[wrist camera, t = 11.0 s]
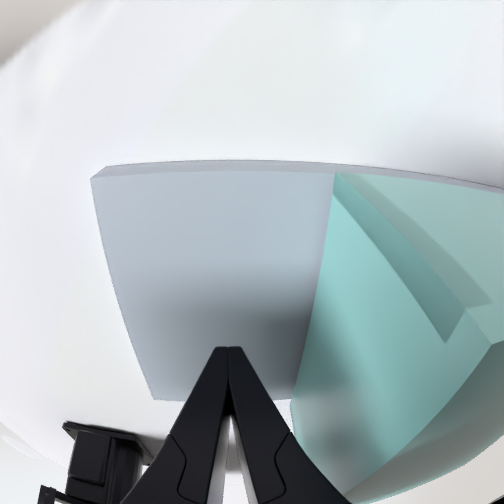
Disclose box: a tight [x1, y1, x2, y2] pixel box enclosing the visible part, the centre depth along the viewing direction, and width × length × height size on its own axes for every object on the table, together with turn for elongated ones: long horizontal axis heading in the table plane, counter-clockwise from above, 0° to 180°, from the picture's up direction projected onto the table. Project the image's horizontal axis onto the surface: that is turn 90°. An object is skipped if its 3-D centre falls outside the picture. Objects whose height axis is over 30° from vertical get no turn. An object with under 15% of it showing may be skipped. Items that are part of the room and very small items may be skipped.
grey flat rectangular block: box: [90, 160, 504, 401], centre depth 10 cm, size 10×25×3 cm, turn 88°
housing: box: [290, 172, 504, 504], centre depth 8 cm, size 11×8×6 cm
